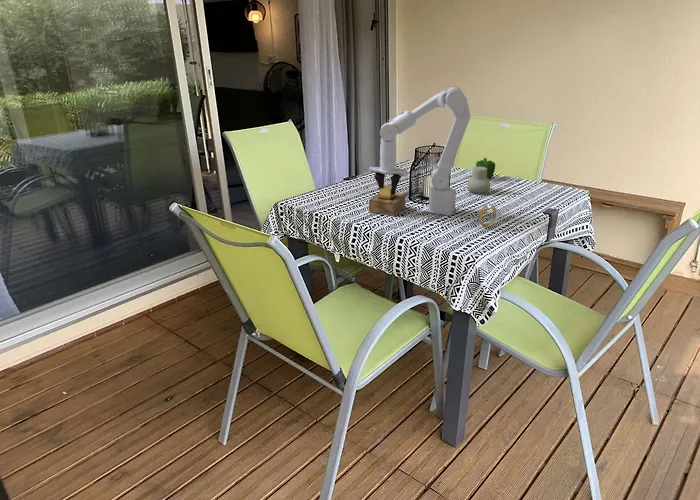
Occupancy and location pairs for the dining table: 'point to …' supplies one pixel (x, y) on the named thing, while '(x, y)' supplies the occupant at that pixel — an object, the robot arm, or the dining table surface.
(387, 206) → the wooden box
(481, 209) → the bracelet
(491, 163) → the bell pepper
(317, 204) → the dining table surface
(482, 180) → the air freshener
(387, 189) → the yellow cube
